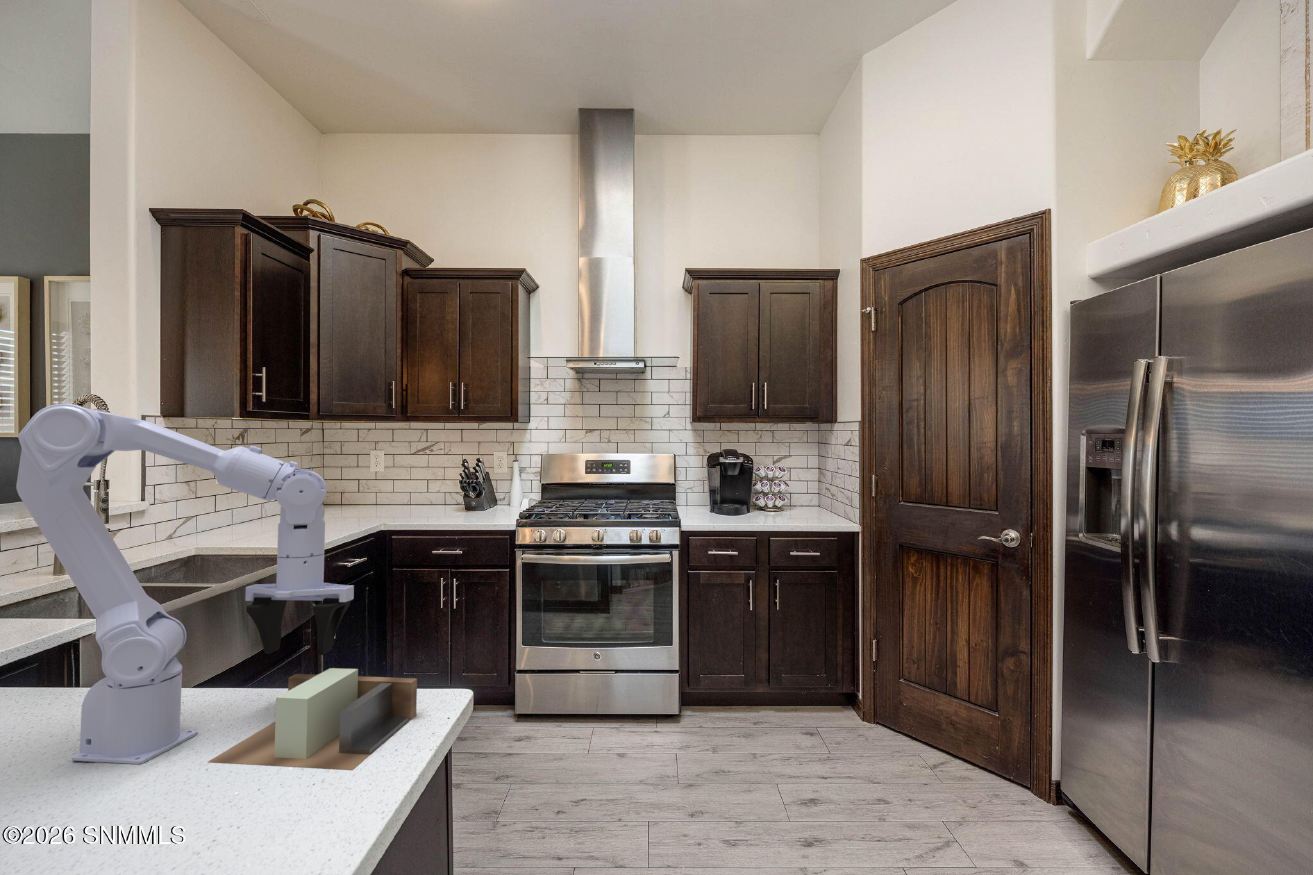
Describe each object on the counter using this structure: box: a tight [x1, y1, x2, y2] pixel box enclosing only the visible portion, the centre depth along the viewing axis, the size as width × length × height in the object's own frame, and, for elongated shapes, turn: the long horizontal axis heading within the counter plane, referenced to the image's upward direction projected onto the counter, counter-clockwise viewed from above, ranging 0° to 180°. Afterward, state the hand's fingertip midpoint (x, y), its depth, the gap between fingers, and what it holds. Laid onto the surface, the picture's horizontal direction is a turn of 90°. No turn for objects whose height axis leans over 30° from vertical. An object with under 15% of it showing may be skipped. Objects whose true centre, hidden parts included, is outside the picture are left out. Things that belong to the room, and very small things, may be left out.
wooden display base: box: [207, 673, 418, 771], centre depth 75 cm, size 18×14×6 cm
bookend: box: [339, 683, 409, 756], centre depth 75 cm, size 4×9×5 cm, turn 175°
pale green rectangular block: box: [274, 667, 359, 759], centre depth 74 cm, size 10×4×7 cm, turn 175°
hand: (298, 652), depth 82 cm, fingers open, 7 cm apart
